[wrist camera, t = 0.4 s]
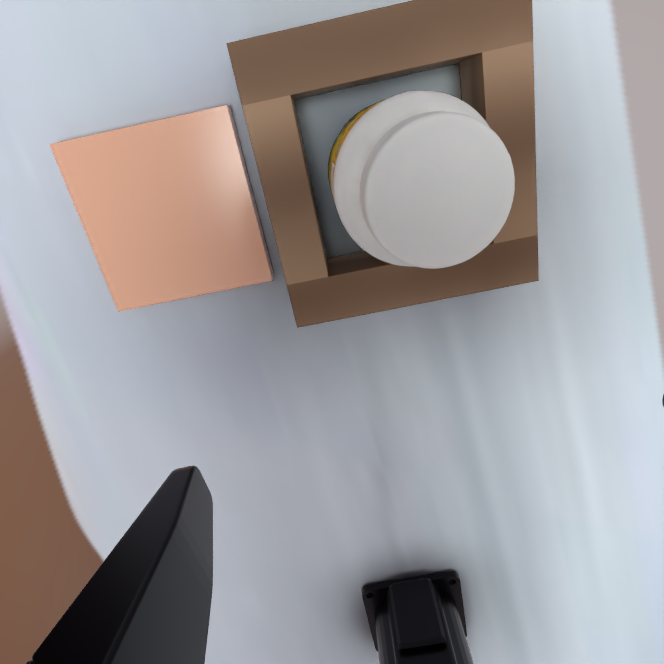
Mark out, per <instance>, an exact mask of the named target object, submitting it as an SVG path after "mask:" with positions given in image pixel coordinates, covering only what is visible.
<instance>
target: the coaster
mask: <svg viewBox="0 0 664 664" xmlns="http://www.w3.org/2000/svg"><path fill="white" fill-rule="evenodd" d="M50 146H51V149H52V151H53V154H54V156H55V159H56V161H57V164H58V166H59V168H60V171H61V173H62V176H63V178H64V181H65V183H66V185H67V188H68V190H69V193H70V195H71V198H72V200H73V203H74V205H75V207H76V210H77V212H78V215H79V217H80V220H81V222H82V224H83V227H84V229H85V232H86V234H87V237H88V239H89V242H90V244H91V246H92V249H93V251H94V254H95V256H96V259H97V261H98V263H99V266H100V268H101V271H102V273H103V276H104V278H105V281H106V283H107V285H108V288H109V290H110V293H111V295H112V298H113V300H114V302H115V305H116V307H117V310H118V312H119V311H124V310H129V309H134V308H139V307H143V306H148V305H153V304H158V303H163V302H168V301H173V300H178V299H183V298H188V297H193V296H198V295H203V294H208V293H213V292H218V291H223V290H228V289H233V288H238V287H243V286H248V285H253V284H258V283H263V282H268V281H273V277H274V274H273V270H272V266H271V262H270V258H269V254H268V251H267V247H266V243H265V239H264V235H263V231H262V227H261V224H260V220H259V216H258V212H257V208H256V204H255V200H254V196H253V193H252V189H251V185H250V181H249V177H248V173H247V169H246V166H245V162H244V158H243V154H242V150H241V146H240V142H239V138H238V135H237V131H236V127H235V123H234V119H233V115H232V111H231V108H230V106H229V105H224V106H219V107H215V108H210V109H206V110H201V111H197V112H192V113H188V114H184V115H179V116H175V117H170V118H166V119H161V120H157V121H152V122H148V123H143V124H139V125H134V126H130V127H125V128H121V129H116V130H112V131H107V132H103V133H98V134H94V135H89V136H85V137H80V138H76V139H71V140H67V141H62V142H58V143H53V144H50Z"/></svg>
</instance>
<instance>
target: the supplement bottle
mask: <svg viewBox="0 0 664 664" xmlns="http://www.w3.org/2000/svg"><path fill="white" fill-rule="evenodd" d="M328 177H329V183H330V187H331V191H332V195H333V198H334V201H335V205H336V208H337V211H338V214H339V217H340V219H341V221H342V223H343V225H344V227H345V229H346V230H347V232H348V233H349V235H350V236H351V238H352V239H353V240H354V241H355V242H356V243H357V244H358V245H359V246H360V247H361V248H362V249H363V250H365V251H366V252H367V253H369V254H370V255H372V256H374V257H375V258H377V259H380V260H382V261H384V262H387V263H390V264H394V265H399V266H410V267H411V266H415V267H420V268H429V269H437V268H445V267H450V266H453V265H457V264H460V263H462V262H465V261H467V260H469V259H471V258H472V257H474V256H475V255H477V254H478V253H479V252H481V251H482V250H483V249H484V248H486V247H487V246H488V245H489V244H490V243H491V242H492V241H493V239H494V238H495V237H496V236H497V234H498V233H499V232H500V230H501V228H502V227H503V225H504V224H505V222H506V220H507V217H508V215H509V212H510V209H511V206H512V202H513V197H514V191H515V176H514V169H513V165H512V161H511V157H510V155H509V153H508V151H507V149H506V147H505V145H504V143H503V142H502V141H501V139H500V138H499V136H498V135H497V134H496V133H495V132H494V131H493V130H492V129H491V128H490V127H489V125H488V124H487V122H486V121H485V120H484V119H483V117H482V116H481V115H480V114H479V113H478V112H477V111H476V110H475V109H474V108H472V107H471V106H470V105H468V104H467V103H465V102H464V101H462V100H460V99H458V98H456V97H454V96H451V95H449V94H445V93H442V92H436V91H408V92H403V93H400V94H397V95H395V96H392V97H390V98H388V99H386V100H383V101H380V102H378V103H376V104H373V105H371V106H369V107H366V108H365V109H363V110H361V111H360V112H359V113H357V114H356V115H355V116H354V117H352V118H351V119H350V120H349V121H348V122H347V123H346V125H345V126H344V127H343V129H342V130H341V132H340V134H339V135H338V137H337V138H336V140H335V142H334V144H333V147H332V150H331V153H330V157H329V163H328Z"/></svg>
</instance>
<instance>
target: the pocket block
mask: <svg viewBox="0 0 664 664" xmlns="http://www.w3.org/2000/svg"><path fill="white" fill-rule="evenodd" d="M227 47H228V51H229V55H230V59H231V63H232V67H233V71H234V75H235V79H236V83H237V87H238V91H239V95H240V99H241V103H242V107H243V111H244V115H245V119H246V123H247V128H248V132H249V136H250V140H251V144H252V148H253V152H254V156H255V160H256V164H257V168H258V172H259V176H260V180H261V184H262V188H263V192H264V196H265V200H266V204H267V208H268V212H269V216H270V220H271V224H272V228H273V232H274V236H275V240H276V244H277V248H278V252H279V256H280V260H281V264H282V268H283V272H284V276H285V280H286V284H287V288H288V292H289V296H290V300H291V304H292V308H293V312H294V316H295V320H296V324H297V328H298V327H303V326H308V325H313V324H318V323H324V322H329V321H334V320H339V319H344V318H349V317H354V316H359V315H365V314H370V313H375V312H380V311H385V310H390V309H395V308H400V307H406V306H411V305H416V304H421V303H426V302H431V301H436V300H441V299H447V298H452V297H457V296H462V295H467V294H472V293H477V292H482V291H488V290H493V289H498V288H503V287H508V286H513V285H518V284H523V283H529V282H534V281H538V238H537V195H536V152H535V109H534V65H533V22H532V0H413V1H408V2H404V3H400V4H395V5H391V6H387V7H382V8H378V9H374V10H369V11H365V12H361V13H356V14H352V15H348V16H343V17H339V18H335V19H330V20H326V21H322V22H317V23H313V24H309V25H304V26H300V27H296V28H291V29H287V30H283V31H278V32H274V33H269V34H265V35H261V36H256V37H252V38H248V39H243V40H239V41H235V42H230V43H227ZM457 63H459V70H460V83H461V95H462V101H464V102H465V103H467V104H468V105H470V106H471V107H472V108H474V109H475V110H476V111H477V112H478V113H479V114H480V115H481V116H482V117H483V119H484V120H485V121H486V122H487V124H488V125H489V127H490V128H491V129H492V130H493V131H494V132H495V133H496V134H497V135H498V136H499V138H500V139H501V141H502V142H503V143H504V145H505V147H506V149H507V151H508V153H509V155H510V157H511V161H512V165H513V169H514V176H515V191H514V197H513V202H512V206H511V209H510V212H509V215H508V217H507V220H506V222H505V224H504V225H503V227H502V228H501V230H500V232H499V233H498V234H497V236H496V237H495V238H494V239H493V241H492V242H491V243H490V244H489V245H488V246H487V247H486V248H484V249H483V250H482V251H481V252H479V253H478V254H477V255H475V256H474V257H472V258H471V259H469V260H467V261H465V262H462V263H460V264H457V265H453V266H450V267H445V268H437V269H429V268H420V267H415V266H411V267H410V266H399V265H394V264H390V263H387V262H384V261H382V260H380V259H377V258H375V257H374V256H372V255H370V254H369V253H367V252H366V251H363V252H358V253H353V254H348V255H343V256H338V257H333V258H328V259H327V256H326V251H325V246H324V241H323V237H322V232H321V227H320V222H319V217H318V213H317V208H316V203H315V198H314V193H313V189H312V184H311V179H310V174H309V169H308V165H307V160H306V155H305V150H304V145H303V141H302V136H301V131H300V126H299V121H298V117H297V112H296V107H295V102H294V100H295V99H299V98H304V97H308V96H313V95H317V94H322V93H326V92H331V91H335V90H340V89H344V88H349V87H353V86H358V85H362V84H367V83H371V82H376V81H380V80H385V79H389V78H394V77H398V76H403V75H407V74H412V73H416V72H421V71H426V70H430V69H435V68H439V67H444V66H448V65H453V64H457Z"/></svg>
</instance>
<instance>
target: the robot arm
mask: <svg viewBox="0 0 664 664" xmlns="http://www.w3.org/2000/svg"><path fill="white" fill-rule="evenodd" d="M663 406H664V395H663ZM212 586H213V502H212V496H211V493H210V491H209V489H208V487H207V485H206V483H205V481H204V479H203V476H202V474H201V472H200V470H199V469H198V468H197V467H196V466H188V467H184V468H179V469H176V470H174V471H173V472H172V473H171V474H170V475H169V476H168V478H167V479H166V480H165V482H164V483H163V484H162V486H161V487H160V488H159V490H158V491H157V492H156V494H155V495H154V496H153V497H152V499H151V500H150V501H149V503H148V504H147V505H146V507H145V508H144V509H143V511H142V512H141V513H140V515H139V516H138V517H137V519H136V520H135V521H134V523H133V524H132V525H131V526H130V528H129V529H128V530H127V532H126V533H125V534H124V536H123V537H122V538H121V540H120V541H119V542H118V544H117V545H116V546H115V548H114V549H113V550H112V552H111V553H110V554H109V555H108V557H107V558H106V559H105V561H104V562H103V563H102V565H101V566H100V567H99V569H98V570H97V571H96V573H95V574H94V575H93V577H92V578H91V579H90V581H89V582H88V583H87V584H86V586H85V587H84V589H83V590H82V591H81V592H80V594H79V595H78V596H77V598H76V599H75V601H74V602H73V603H72V604H71V606H70V607H69V608H68V610H67V611H66V612H65V614H64V615H63V616H62V618H61V619H60V620H59V621H58V623H57V624H56V625H55V627H54V628H53V629H52V631H51V632H50V633H49V635H48V636H47V637H46V639H45V640H44V641H43V643H42V644H41V645H40V647H39V648H38V649H37V651H36V652H35V653H34V655H33V657H32V660H30V661H28V662H27V663H26V664H204V662H205V653H206V644H207V635H208V626H209V617H210V608H211V598H212ZM362 597H363V601H364V605H365V609H366V613H367V617H368V621H369V625H370V628H371V632H372V636H373V640H374V644H375V648H376V650H377V651H378V653H379V661H380V664H473V660H472V657H471V654H470V650H469V647H468V643H467V640H466V637H467V632H466V624H465V616H464V608H463V600H462V593H461V585H460V579H459V576H458V574H457V573H456V572H444V573H438V574H432V575H426V576H420V577H414V578H408V579H402V580H396V581H389V582H383V583H377V584H371V585H366V586H364V587H363V589H362Z"/></svg>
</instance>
